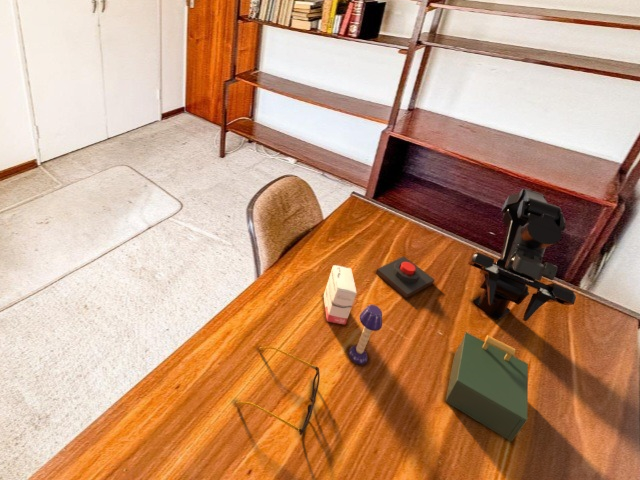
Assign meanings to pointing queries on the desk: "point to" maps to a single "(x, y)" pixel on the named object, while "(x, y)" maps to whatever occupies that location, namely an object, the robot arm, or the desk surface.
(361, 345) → the toy lamp
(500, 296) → the robot arm
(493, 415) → the chest
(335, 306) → the ink box
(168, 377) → the desk surface
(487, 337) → the chest lid
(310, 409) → the eyeglasses
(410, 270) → the button
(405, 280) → the button base
